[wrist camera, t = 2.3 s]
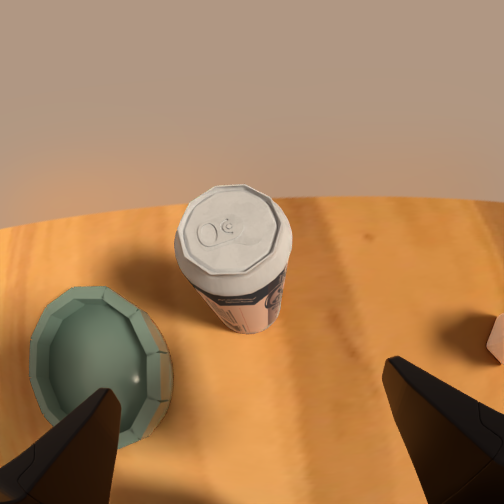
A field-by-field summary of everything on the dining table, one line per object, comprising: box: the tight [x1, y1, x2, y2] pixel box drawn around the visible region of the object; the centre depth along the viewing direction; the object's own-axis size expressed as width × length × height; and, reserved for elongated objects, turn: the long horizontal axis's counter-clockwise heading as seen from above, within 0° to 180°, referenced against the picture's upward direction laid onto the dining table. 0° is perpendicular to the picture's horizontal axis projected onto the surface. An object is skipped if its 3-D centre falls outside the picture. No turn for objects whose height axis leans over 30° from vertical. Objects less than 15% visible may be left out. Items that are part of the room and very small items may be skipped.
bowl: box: [29, 286, 174, 449], centre depth 18 cm, size 13×13×3 cm
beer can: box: [174, 184, 292, 334], centre depth 16 cm, size 5×5×12 cm
